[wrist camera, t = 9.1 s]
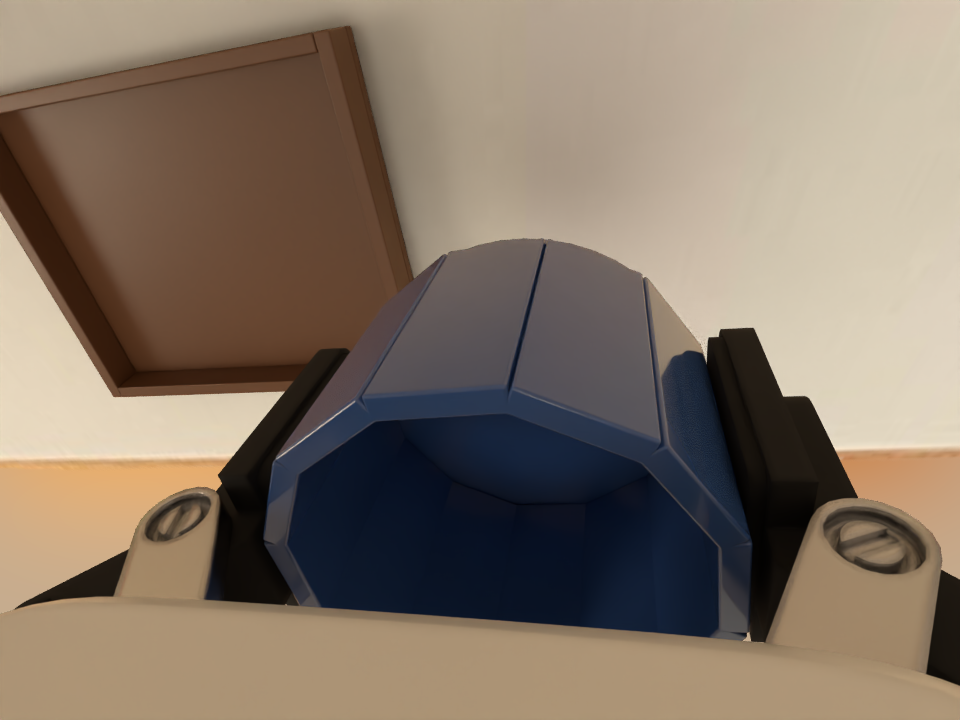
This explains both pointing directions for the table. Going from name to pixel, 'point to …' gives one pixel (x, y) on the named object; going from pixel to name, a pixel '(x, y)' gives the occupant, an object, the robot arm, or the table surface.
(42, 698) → the robot arm
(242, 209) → the tray
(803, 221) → the table surface
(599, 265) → the bowl
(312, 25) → the table surface
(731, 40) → the table surface
